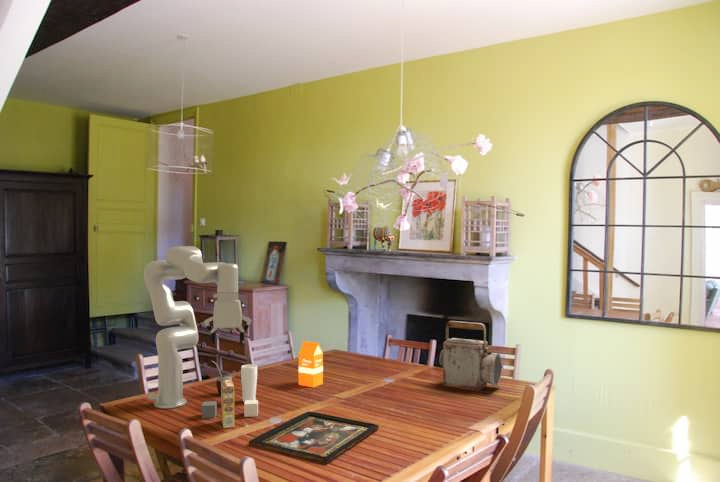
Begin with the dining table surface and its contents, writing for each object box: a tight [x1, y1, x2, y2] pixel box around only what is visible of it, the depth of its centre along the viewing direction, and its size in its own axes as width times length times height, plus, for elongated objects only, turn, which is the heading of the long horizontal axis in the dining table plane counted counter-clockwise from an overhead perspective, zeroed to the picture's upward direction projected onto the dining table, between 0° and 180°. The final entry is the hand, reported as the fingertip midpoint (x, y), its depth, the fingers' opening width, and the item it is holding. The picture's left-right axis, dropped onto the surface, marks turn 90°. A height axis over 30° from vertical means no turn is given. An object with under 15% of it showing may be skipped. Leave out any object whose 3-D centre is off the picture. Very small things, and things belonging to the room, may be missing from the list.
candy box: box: [220, 379, 235, 429], centre depth 201 cm, size 9×4×15 cm, turn 20°
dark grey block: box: [201, 400, 218, 419], centre depth 210 cm, size 5×5×5 cm
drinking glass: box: [240, 363, 258, 403], centre depth 228 cm, size 7×7×15 cm
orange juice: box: [298, 340, 324, 388], centre depth 256 cm, size 8×9×20 cm
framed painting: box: [248, 411, 380, 465], centre depth 188 cm, size 38×35×3 cm
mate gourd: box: [211, 360, 234, 397], centre depth 239 cm, size 8×8×15 cm
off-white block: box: [243, 399, 259, 418], centre depth 212 cm, size 5×5×5 cm
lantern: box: [438, 320, 503, 392], centre depth 254 cm, size 16×27×30 cm, turn 60°
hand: (227, 342), depth 201 cm, fingers open, 9 cm apart
